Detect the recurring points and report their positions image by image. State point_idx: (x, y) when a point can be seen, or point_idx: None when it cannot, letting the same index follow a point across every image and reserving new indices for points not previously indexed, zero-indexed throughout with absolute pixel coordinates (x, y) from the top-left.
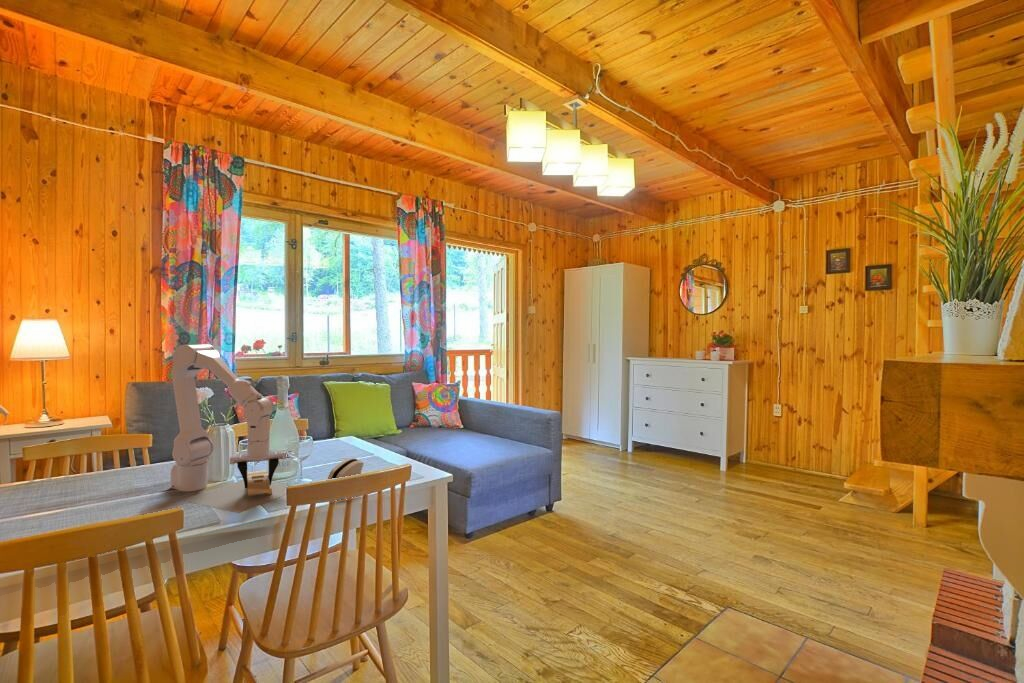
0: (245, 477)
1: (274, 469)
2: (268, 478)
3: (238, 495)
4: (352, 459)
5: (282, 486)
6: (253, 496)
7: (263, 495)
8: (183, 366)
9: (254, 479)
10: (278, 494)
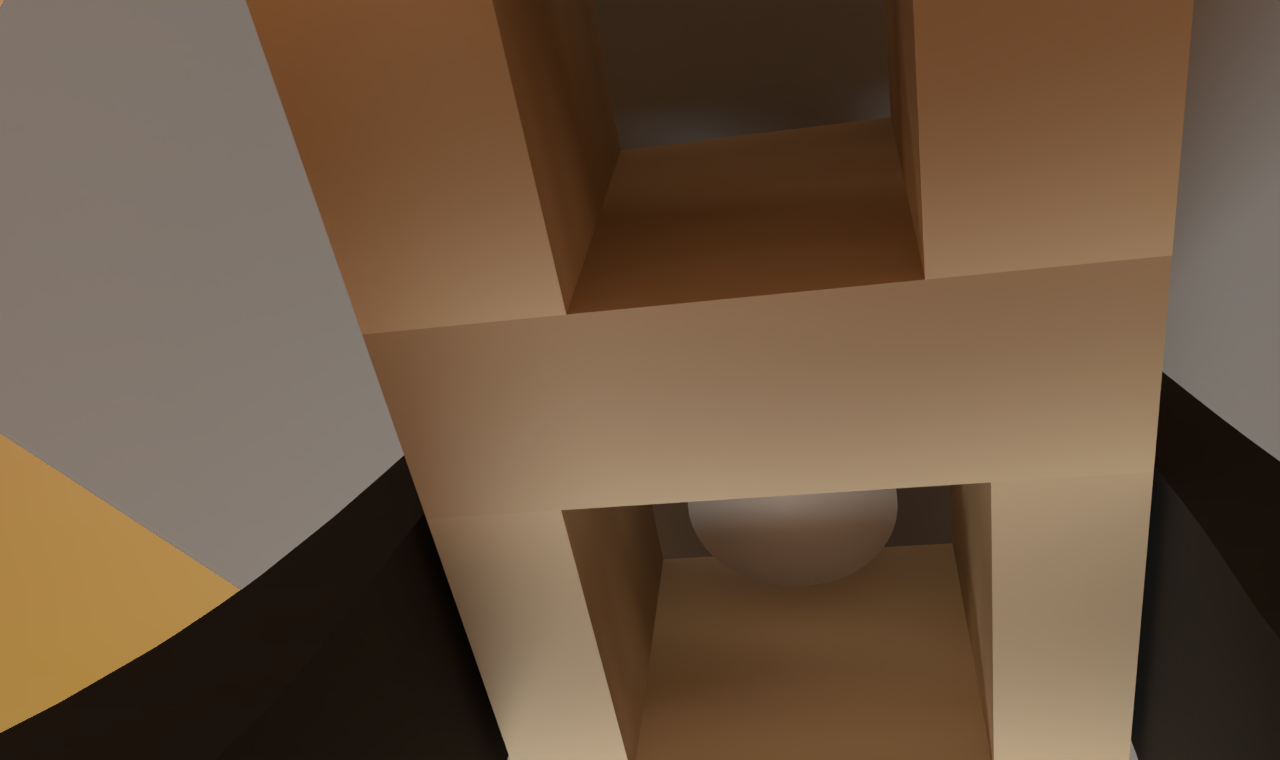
0: (1273, 524)
1: (90, 704)
2: (384, 363)
3: (1273, 231)
4: None
5: None
6: (882, 26)
7: (619, 33)
8: None
9: (895, 399)
10: (237, 7)
